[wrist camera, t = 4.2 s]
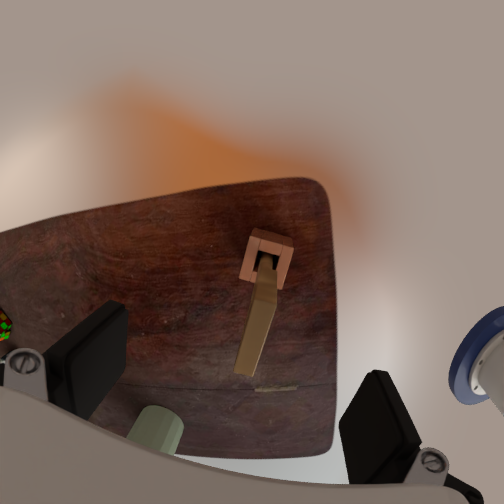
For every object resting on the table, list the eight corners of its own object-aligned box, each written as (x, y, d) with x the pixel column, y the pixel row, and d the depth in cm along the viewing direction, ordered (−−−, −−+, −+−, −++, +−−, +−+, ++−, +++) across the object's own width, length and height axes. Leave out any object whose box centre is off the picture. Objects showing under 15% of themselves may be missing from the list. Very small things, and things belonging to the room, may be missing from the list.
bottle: (186, 414, 37) (151, 502, 21) (181, 440, 38) (151, 519, 23) (142, 399, 37) (95, 478, 21) (141, 426, 38) (102, 498, 23)
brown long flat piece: (278, 233, 30) (278, 305, 12) (268, 270, 31) (253, 377, 13) (268, 230, 30) (252, 298, 12) (257, 267, 31) (231, 372, 13)
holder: (291, 237, 30) (294, 248, 25) (281, 273, 31) (281, 290, 26) (254, 227, 30) (249, 235, 25) (244, 263, 31) (238, 278, 26)
